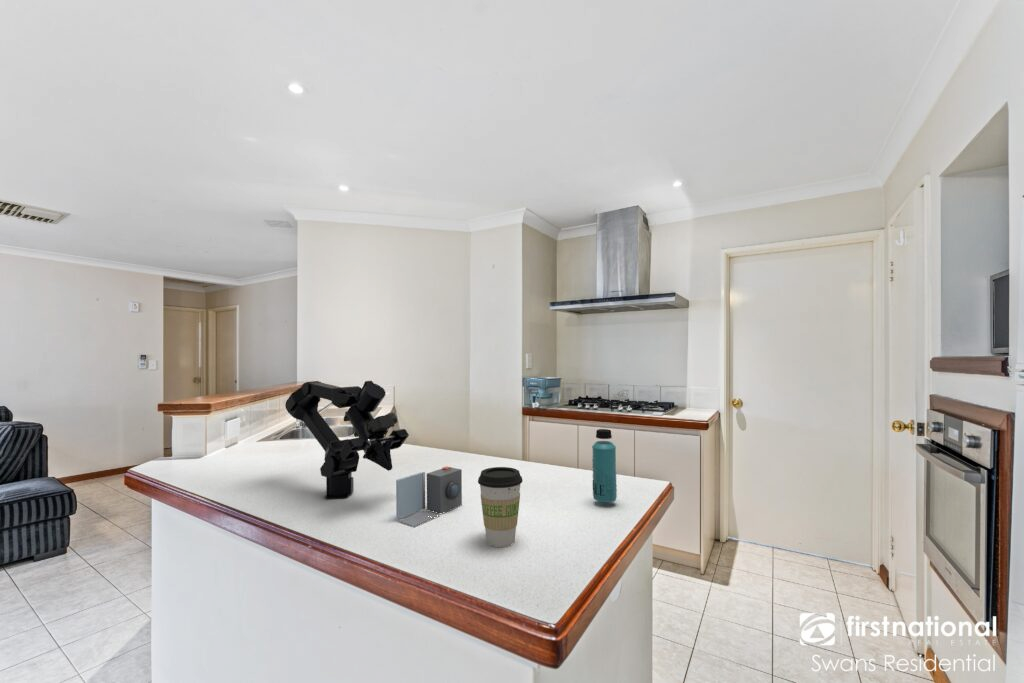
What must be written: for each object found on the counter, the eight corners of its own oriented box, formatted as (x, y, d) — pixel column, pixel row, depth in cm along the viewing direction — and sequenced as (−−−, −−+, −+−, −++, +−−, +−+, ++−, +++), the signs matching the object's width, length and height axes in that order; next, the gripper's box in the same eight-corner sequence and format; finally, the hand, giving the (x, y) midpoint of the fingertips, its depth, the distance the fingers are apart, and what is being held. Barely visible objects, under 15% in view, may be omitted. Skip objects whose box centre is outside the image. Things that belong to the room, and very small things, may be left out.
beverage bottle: (619, 501, 122) (618, 428, 122) (614, 510, 116) (613, 432, 116) (595, 498, 125) (595, 426, 125) (589, 506, 119) (588, 430, 119)
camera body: (398, 522, 109) (397, 480, 109) (448, 501, 123) (447, 464, 123) (416, 528, 105) (415, 484, 106) (465, 506, 120) (465, 467, 120)
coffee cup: (489, 554, 91) (489, 481, 92) (471, 537, 100) (470, 469, 100) (531, 544, 96) (530, 474, 96) (510, 528, 105) (509, 464, 105)
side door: (396, 518, 110) (396, 479, 110) (422, 507, 117) (422, 471, 117) (399, 519, 109) (399, 480, 109) (426, 508, 116) (425, 472, 116)
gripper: (346, 407, 112) (374, 457, 106) (404, 400, 127) (432, 443, 121) (328, 436, 117) (354, 485, 110) (386, 425, 132) (412, 468, 125)
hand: (390, 469), depth 116 cm, fingers closed
